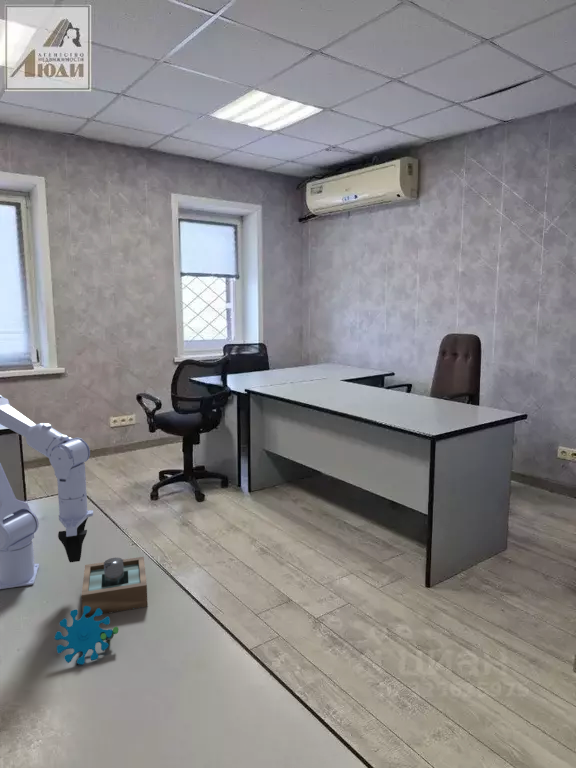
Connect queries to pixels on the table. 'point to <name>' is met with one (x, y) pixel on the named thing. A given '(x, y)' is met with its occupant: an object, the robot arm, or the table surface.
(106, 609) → the bore box
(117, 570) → the peg
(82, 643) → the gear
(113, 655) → the table surface
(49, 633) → the table surface
